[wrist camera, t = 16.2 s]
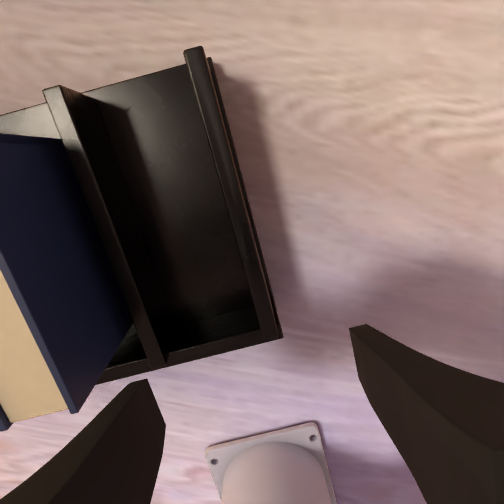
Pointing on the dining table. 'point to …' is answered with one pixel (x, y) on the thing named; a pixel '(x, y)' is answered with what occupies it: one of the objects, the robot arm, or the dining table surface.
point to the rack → (165, 211)
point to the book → (51, 285)
